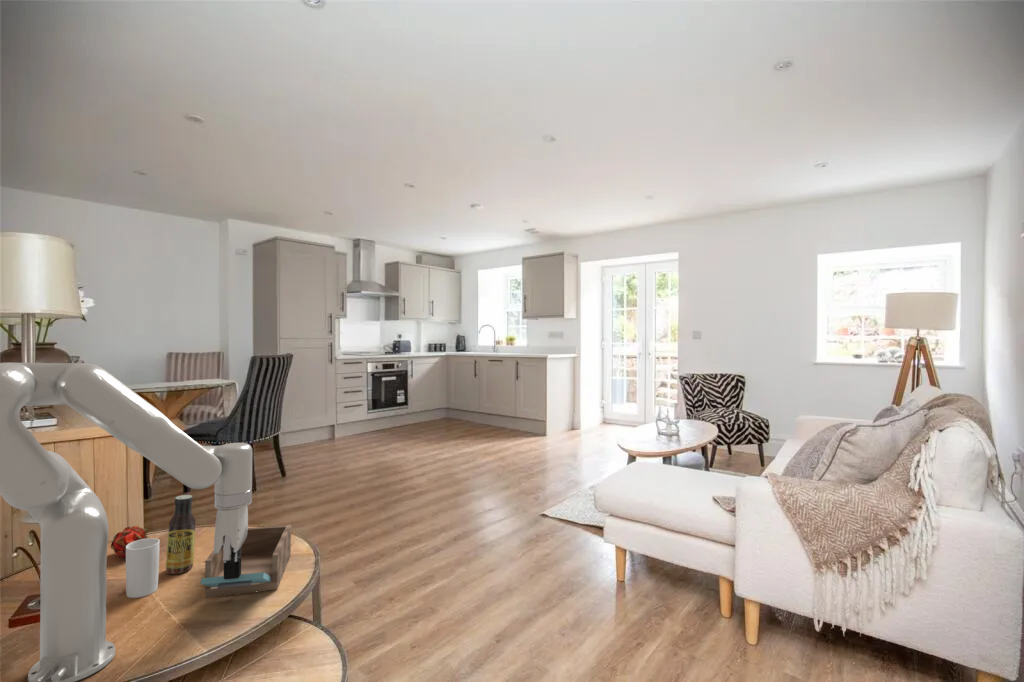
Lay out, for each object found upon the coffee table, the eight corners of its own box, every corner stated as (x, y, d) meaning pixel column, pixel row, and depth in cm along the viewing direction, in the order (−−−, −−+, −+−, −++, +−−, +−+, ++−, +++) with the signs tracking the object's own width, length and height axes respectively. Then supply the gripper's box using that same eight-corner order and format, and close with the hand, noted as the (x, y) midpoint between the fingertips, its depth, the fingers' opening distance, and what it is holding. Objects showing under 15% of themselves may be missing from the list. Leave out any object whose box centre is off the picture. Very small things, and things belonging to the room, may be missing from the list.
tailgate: (269, 586, 124) (262, 582, 116) (211, 591, 121) (199, 588, 113) (270, 576, 126) (263, 572, 117) (213, 582, 122) (201, 578, 114)
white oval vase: (155, 595, 121) (155, 547, 121) (121, 601, 119) (121, 551, 119) (164, 577, 131) (165, 531, 131) (133, 581, 128) (134, 535, 128)
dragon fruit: (136, 551, 149) (130, 573, 139) (106, 540, 145) (98, 562, 135) (156, 526, 151) (152, 547, 141) (128, 514, 147) (122, 535, 136)
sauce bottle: (163, 577, 131) (164, 502, 130) (168, 567, 136) (169, 494, 136) (192, 573, 133) (193, 499, 133) (196, 563, 139) (197, 492, 139)
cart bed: (277, 590, 125) (277, 554, 125) (204, 597, 121) (205, 560, 121) (290, 555, 145) (291, 524, 145) (228, 561, 140) (229, 529, 140)
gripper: (224, 489, 121) (223, 564, 121) (204, 510, 106) (203, 595, 106) (258, 487, 123) (257, 561, 123) (243, 507, 108) (242, 591, 108)
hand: (232, 577), depth 115 cm, fingers closed
